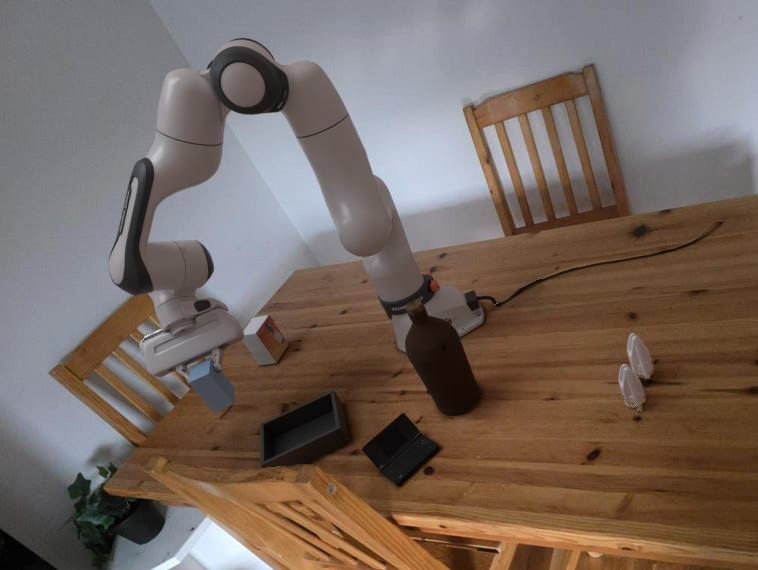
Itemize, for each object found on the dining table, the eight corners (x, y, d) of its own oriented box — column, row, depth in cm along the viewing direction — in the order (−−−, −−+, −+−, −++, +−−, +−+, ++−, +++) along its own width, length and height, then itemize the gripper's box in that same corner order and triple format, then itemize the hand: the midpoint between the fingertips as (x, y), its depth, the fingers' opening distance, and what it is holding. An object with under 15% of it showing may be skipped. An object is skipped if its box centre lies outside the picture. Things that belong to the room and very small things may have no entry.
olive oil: (490, 382, 124) (449, 285, 109) (472, 420, 118) (425, 322, 103) (447, 380, 129) (401, 288, 114) (427, 417, 123) (376, 323, 108)
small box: (277, 364, 157) (255, 333, 151) (260, 366, 159) (238, 336, 153) (289, 344, 163) (269, 314, 157) (273, 346, 165) (252, 317, 159)
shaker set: (636, 364, 115) (626, 320, 108) (658, 365, 113) (650, 320, 106) (620, 410, 107) (608, 365, 101) (643, 412, 105) (633, 367, 99)
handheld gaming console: (402, 484, 108) (367, 442, 108) (390, 491, 114) (356, 451, 114) (444, 445, 115) (411, 405, 114) (430, 453, 121) (399, 415, 120)
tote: (343, 404, 135) (333, 389, 132) (350, 443, 124) (340, 427, 121) (271, 438, 134) (259, 424, 131) (273, 480, 123) (260, 465, 120)
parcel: (234, 387, 130) (210, 357, 125) (234, 403, 125) (209, 373, 120) (215, 396, 130) (190, 366, 124) (214, 413, 125) (188, 382, 120)
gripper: (127, 336, 122) (152, 397, 120) (220, 294, 123) (246, 354, 121) (145, 342, 128) (168, 400, 127) (233, 302, 129) (257, 359, 128)
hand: (207, 377), depth 124 cm, fingers closed on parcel, 4 cm apart
